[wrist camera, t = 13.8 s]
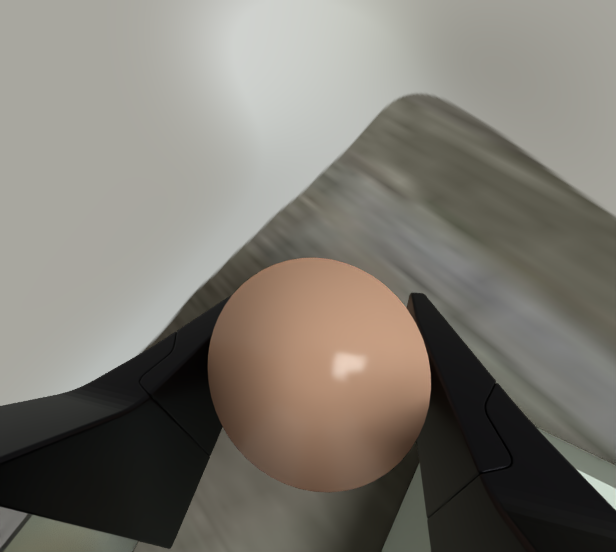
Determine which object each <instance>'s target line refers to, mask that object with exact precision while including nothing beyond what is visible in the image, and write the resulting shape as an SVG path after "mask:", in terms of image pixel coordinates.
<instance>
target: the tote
mask: <svg viewBox="0 0 616 552" xmlns="http://www.w3.org/2000/svg"><path fill="white" fill-rule="evenodd" d="M536 428H537V427H536ZM537 429H538V430H539V431H540V432H541V433H542V434H543V435H544V436H545V437H546V438H547V439H548V441H549V442H550V443H551V444H552V445H553V446H554V447H555V448H556V449H557V450H558V451H559V452H560V453H561V454H562V455H563V456H564V457H565V458H566V459H567V460H568V461H569V462H570V463H571V464H572V465H573V466H574V467H575V469H576V470H577V471H578V472H579V473H580V474H581V475H582V476H583V477H584V478H585V479H586V480H587V481H588V482H589V483H590V484H591V485H592V486H593V487H594V488H595V489H596V490H597V491H598V492H599V493H600V494H601V495H602V496H603V498H604V499H605V500H606V501H607V502H608V503H609V504H610V505H611V506H612V507H613V508H614V509H615V510H616V465H614V464H612V463H610V462H608V461H606V460H603V459H601V458H599V457H597V456H595V455H593V454H591V453H589V452H587V451H585V450H583V449H580V448H578V447H576V446H574V445H572V444H570V443H568V442H566V441H564V440H562V439H560V438H558V437H555V436H553V435H551V434H549V433H547V432H545V431H543V430H541V429H539V428H537ZM427 519H428V518H427V515H426V508H425V500H424V493H423V485H422V477H421V470H420V462H419V464H418V467H417V469H416V472H415V474H414V476H413V479H412V481H411V483H410V486H409V488H408V490H407V493H406V495H405V497H404V500H403V502H402V504H401V507H400V509H399V511H398V514H397V516H396V518H395V521H394V523H393V525H392V528H391V530H390V532H389V535H388V537H387V539H386V542H385V544H384V546H383V549H382V551H381V552H431V547H430V539H429V531H428V524H427Z"/></svg>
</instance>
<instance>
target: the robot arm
mask: <svg viewBox="0 0 616 552" xmlns="http://www.w3.org/2000/svg"><path fill="white" fill-rule="evenodd" d="M232 295H233V294H232ZM232 295H231V296H232ZM231 296H229V297H228V298H226V299H225V300H223V301H222V302H220V303H219V304H217V305H216V306H214V307H213V308H211V309H210V310H208V311H206V312H205V313H203V314H202V315H200V316H199V317H197V318H196V319H194V320H193V321H191V322H190V323H188V324H187V325H185V326H184V327H182V328H181V329H179V330H178V331H177V332H174V333H173V334H171V335H170V336H168V337H167V338H165V339H164V340H162V341H161V342H159V343H157V344H156V345H154V346H153V347H151V348H149V349H148V350H146V351H144V352H143V353H141V354H139V355H137V356H136V357H134V358H132V359H131V360H129V361H127V362H126V363H124V364H122V365H120V366H118V367H117V368H115V369H113V370H111V371H110V372H108V373H106V374H105V375H102V376H101V377H99V378H97V379H96V380H94V381H92V382H90V383H88V384H86V385H84V386H82V387H80V388H77V389H75V390H72V391H69V392H65V393H62V394H58V395H53V396H48V397H43V398H38V399H33V400H28V401H23V402H18V403H13V404H8V405H3V406H0V552H133V551H134V549H135V547H136V545H137V544H138V542H139V541H140V542H144V543H148V544H152V545H156V546H160V547H164V548H168V549H170V548H171V547H172V545H173V543H174V540H175V538H176V536H177V533H178V531H179V529H180V526H181V524H182V522H183V519H184V517H185V515H186V512H187V510H188V508H189V505H190V503H191V500H192V498H193V496H194V493H195V491H196V489H197V486H198V484H199V482H200V479H201V477H202V475H203V472H204V470H205V468H206V465H207V463H208V460H209V458H210V455H211V453H212V451H213V448H214V446H215V444H216V441H217V439H218V436H219V434H220V432H221V429H222V427H223V426H222V424H221V422H220V420H219V418H218V415H217V413H216V411H215V407H214V404H213V401H212V398H211V393H210V387H209V381H208V353H209V346H210V341H211V337H212V333H213V330H214V327H215V325H216V322H217V320H218V317H219V315H220V313H221V312H222V310H223V308H224V306H225V305H226V303H227V302H228V300H229V299H230V298H231ZM407 310H408V311H409V313H410V315H411V316H412V318H413V319H414V321H415V323H416V325H417V327H418V329H419V331H420V333H421V336H422V338H423V341H424V344H425V347H426V351H427V354H428V359H429V365H430V372H431V393H430V401H429V408H428V411H427V415H426V419H425V422H424V425H423V427H422V429H421V432H420V434H419V436H418V438H417V447H418V455H419V462H420V470H421V477H422V485H423V493H424V500H425V508H426V515H427V518H428V519H427V524H428V531H429V539H430V547H431V552H616V510H615V509H614V508H613V507H612V506H611V505H610V504H609V503H608V502H607V501H606V500H605V499H604V498H603V496H602V495H601V494H600V493H599V492H598V491H597V490H596V489H595V488H594V487H593V486H592V485H591V484H590V483H589V482H588V481H587V480H586V479H585V478H584V477H583V476H582V475H581V474H580V473H579V472H578V471H577V470H576V469H575V467H574V466H573V465H572V464H571V463H570V462H569V461H568V460H567V459H566V458H565V457H564V456H563V455H562V454H561V453H560V452H559V451H558V450H557V449H556V448H555V447H554V446H553V445H552V444H551V443H550V442H549V441H548V439H547V438H546V437H545V436H544V435H543V434H542V433H541V432H540V431H539V430H538V429H537V428H536V427H535V425H534V424H533V423H532V422H531V421H530V420H529V419H528V418H527V417H526V416H525V415H524V413H523V412H522V411H521V410H520V409H519V408H518V406H517V405H516V404H515V403H514V402H513V401H512V400H511V398H510V397H509V396H508V395H507V394H506V392H505V391H504V390H503V389H502V388H501V386H500V385H499V384H498V383H496V380H495V379H494V378H493V377H492V376H491V374H490V373H489V372H488V371H487V369H486V368H485V367H484V366H483V365H482V363H481V362H480V361H479V360H478V359H477V357H476V356H475V355H474V354H473V352H472V351H471V350H470V349H469V348H468V346H467V345H466V344H465V343H464V342H463V340H462V339H461V338H460V337H459V335H458V334H457V333H456V332H455V331H454V329H453V328H452V327H451V326H450V325H449V323H448V322H447V321H446V320H445V318H444V317H443V316H442V315H441V314H440V312H439V311H438V310H437V309H436V308H435V306H434V305H433V304H432V303H431V301H430V300H429V299H428V298H427V297H426V295H425V294H423V293H411V294H410V296H409V300H408V305H407ZM495 383H496V384H495Z"/></svg>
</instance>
